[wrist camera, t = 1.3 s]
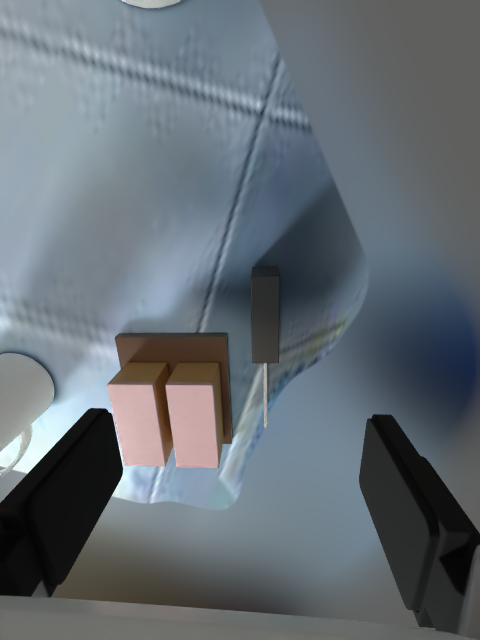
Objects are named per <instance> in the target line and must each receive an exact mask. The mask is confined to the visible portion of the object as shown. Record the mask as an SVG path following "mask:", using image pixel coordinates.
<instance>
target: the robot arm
mask: <svg viewBox="0 0 480 640" xmlns="http://www.w3.org/2000/svg"><path fill="white" fill-rule="evenodd" d="M122 1H124V2H126V3H128V4H130V5H134V6H138V7H142V8H162V7H166V6H169V5H173V4H176V3H178V2H180V1H181V0H122ZM122 474H123V466H122V461H121V456H120V451H119V446H118V441H117V436H116V431H115V426H114V421H113V416H112V414H111V413H109V412H108V410H107V409H102V408H91V409H89V410H87V411H86V412H85V413H84V414H83V416H82V417H81V418H80V419H79V420H78V421H77V422H76V423H75V424H74V425H73V426H72V427H71V428H70V429H69V430H68V431H67V433H66V434H65V435H64V436H63V437H62V438H61V439H60V440H59V441H58V442H57V443H56V444H55V445H54V446H53V447H52V449H51V450H50V451H49V452H48V453H47V454H46V455H45V456H44V457H43V458H42V459H41V460H40V461H39V462H38V463H37V464H36V466H35V467H34V468H33V469H32V470H31V471H30V472H29V473H28V474H27V475H26V476H25V477H24V478H23V479H22V480H21V482H20V483H19V484H18V485H17V486H16V487H15V488H14V489H13V490H12V491H11V492H10V493H9V494H8V495H7V496H6V497H5V499H4V500H3V501H2V502H1V503H0V640H480V533H479V532H478V531H477V529H476V528H475V526H474V525H473V524H472V522H471V521H470V519H469V518H468V516H467V515H466V514H465V512H464V511H463V509H462V508H461V507H460V505H459V504H458V502H457V501H456V499H455V498H454V497H453V495H452V494H451V493H450V491H449V490H448V488H447V487H446V485H445V484H444V482H443V481H442V480H441V478H440V477H439V475H438V474H437V473H436V471H435V470H434V468H433V467H432V466H431V464H430V463H429V462H428V461H427V459H426V458H424V457H422V456H420V455H419V454H418V452H417V451H416V449H415V448H414V446H413V445H412V443H411V442H410V440H409V439H408V438H407V436H406V435H405V433H404V432H403V430H402V429H401V427H400V426H399V424H398V423H397V422H396V420H395V419H394V418H393V416H392V415H379V414H378V415H376V414H374V415H373V416H372V419H368V420H367V423H366V431H365V438H364V445H363V453H362V460H361V467H360V475H359V483H360V488H361V491H362V494H363V496H364V499H365V501H366V504H367V507H368V509H369V512H370V515H371V517H372V520H373V523H374V525H375V528H376V531H377V533H378V536H379V539H380V541H381V544H382V546H383V549H384V552H385V554H386V557H387V560H388V563H389V565H390V568H391V570H392V573H393V576H394V578H395V581H396V584H397V586H398V589H399V592H400V594H401V597H402V600H403V602H404V604H405V606H406V608H407V609H408V610H413V612H414V615H415V618H416V620H417V622H418V625H419V627H428V628H435V629H436V630H430V629H424V628H417V627H410V626H399V625H390V624H381V623H371V622H361V621H351V620H340V619H327V618H315V617H303V616H291V615H278V614H267V613H255V612H242V611H229V610H215V609H202V608H189V607H176V606H162V605H149V604H135V603H121V602H106V601H91V600H77V599H63V598H51V596H52V594H53V592H54V590H55V589H56V587H57V585H60V584H62V582H63V581H64V580H65V579H66V577H67V575H68V573H69V572H70V570H71V568H72V566H73V564H74V563H75V561H76V559H77V557H78V555H79V553H80V552H81V550H82V548H83V546H84V544H85V543H86V541H87V539H88V537H89V536H90V534H91V532H92V530H93V528H94V526H95V525H96V523H97V521H98V519H99V517H100V516H101V514H102V512H103V510H104V508H105V507H106V505H107V503H108V501H109V499H110V497H111V496H112V494H113V492H114V490H115V489H116V487H117V485H118V483H119V481H120V480H121V477H122ZM31 596H32V597H31Z"/></svg>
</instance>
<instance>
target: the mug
mask: <svg viewBox="0 0 480 640" xmlns="http://www.w3.org/2000/svg"><path fill="white" fill-rule="evenodd" d="M53 398H54V384H53V381H52V379H51V377H50V375H49V374H48V372H47V371H46V370H45V369H44V368H43V366H41V365H40V364H39V363H38V362H36V361H35V360H33V359H31V358H29V357H27V356H24V355H21V354H15V353H4V354H0V451H1V450H3V449H4V448H5V447H6V446H7V445H8V444H9V443H10V442H12V441H13V440H14V439H15V438H16V437H17V436H18V437H19V439H20V451H19V454H18V456H17V458H16V459H15V461H14V462H13V463H12V464H11V465H10V466H8V467H7V468H5V469H3V470H1V471H0V478H1V477H2V476H4V475H5V474H7V473H8V472H9V471H10V470H11V469H12V468H13V467H14V466H15V465H16V464H17V463H18V462H19V460H20V459H21V458H22V456H23V455H24V453H25V452H26V450H27V448H28V446H29V443H30V440H31V437H32V423H33V422H34V421H35V420H36V419H37V418H38V417H39V416H40V415H42V414H43V413H44V412H45V411H46V410H47V409H48V407H49V406H50V405H51V403H52V401H53Z"/></svg>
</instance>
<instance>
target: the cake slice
mask: <svg viewBox="0 0 480 640" xmlns="http://www.w3.org/2000/svg"><path fill="white" fill-rule="evenodd" d="M165 386H166V393H167V400H168V408H169V415H170V422H171V429H172V436H173V444H174V451H175V458H176V465H177V467H197V468H219V463H220V458H221V452H222V446H223V440H224V431H223V415H222V400H221V385H220V369H219V363H178V364H177V366H176V367H175V369H174V371H173V373H172V374H171V376H170V378H169V380H168V382H167V383H166V385H165Z"/></svg>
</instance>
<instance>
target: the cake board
mask: <svg viewBox="0 0 480 640" xmlns="http://www.w3.org/2000/svg"><path fill="white" fill-rule="evenodd" d="M115 341H116V346H117V351H118V356H119V361H120V366H121V369H122V368H123V367H124V366H125V365H126V363H128V362H162V363H167V365H168V373H169V378H170V376H171V374H172V373H173V371H174V369H175V367H176V366H177V364H178V363H219V369H220V385H221V400H222V415H223V431H224V440H223V444H232V439H233V436H232V417H231V398H230V379H229V360H228V340H227V333H159V334H118V335H117V336H116V337H115Z"/></svg>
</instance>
